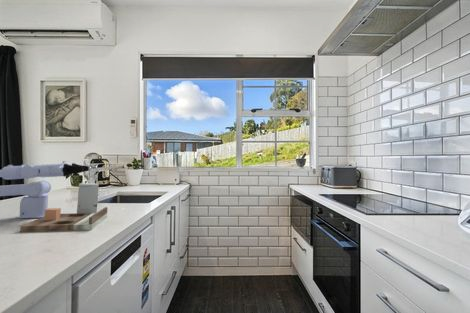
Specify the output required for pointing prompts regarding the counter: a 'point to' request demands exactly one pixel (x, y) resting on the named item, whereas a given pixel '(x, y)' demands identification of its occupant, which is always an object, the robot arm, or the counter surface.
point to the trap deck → (67, 222)
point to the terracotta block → (52, 214)
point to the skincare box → (87, 198)
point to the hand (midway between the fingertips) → (85, 168)
